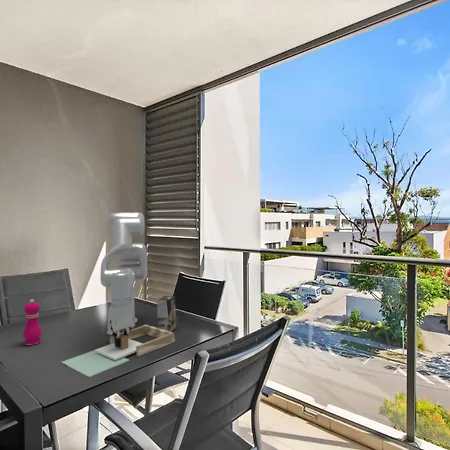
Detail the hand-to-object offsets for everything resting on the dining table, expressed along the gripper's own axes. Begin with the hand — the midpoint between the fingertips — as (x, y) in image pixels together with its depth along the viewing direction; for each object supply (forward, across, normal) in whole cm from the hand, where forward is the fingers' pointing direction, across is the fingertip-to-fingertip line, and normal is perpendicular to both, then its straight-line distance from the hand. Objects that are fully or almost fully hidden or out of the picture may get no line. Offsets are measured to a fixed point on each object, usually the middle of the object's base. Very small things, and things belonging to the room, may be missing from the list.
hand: (121, 344), depth 140 cm
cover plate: (+2, 0, 0) cm, 2 cm away
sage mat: (+3, +12, 0) cm, 12 cm away
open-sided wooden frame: (+3, -11, 0) cm, 11 cm away
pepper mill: (+3, +18, -41) cm, 45 cm away
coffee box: (+3, -30, -5) cm, 31 cm away
